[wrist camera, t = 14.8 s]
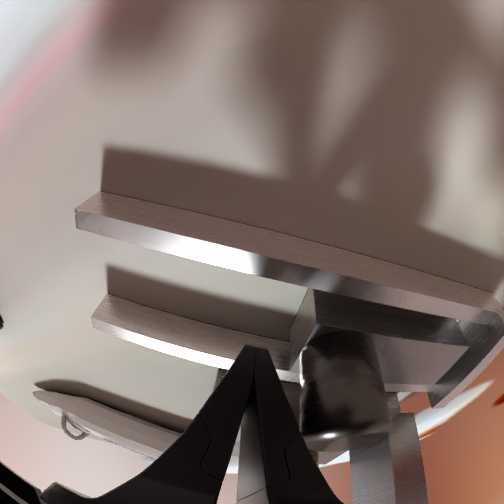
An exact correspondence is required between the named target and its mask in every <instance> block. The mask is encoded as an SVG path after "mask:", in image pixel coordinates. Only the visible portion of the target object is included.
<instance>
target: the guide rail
mask: <svg viewBox="0 0 504 504" xmlns="http://www.w3.org/2000/svg"><path fill="white" fill-rule="evenodd" d="M75 220H76V228H77V229H81V230H85V231H88V232H92V233H95V234H99V235H102V236H106V237H110V238H113V239H117V240H121V241H124V242H128V243H132V244H136V245H139V246H143V247H147V248H151V249H154V250H158V251H162V252H166V253H170V254H173V255H177V256H181V257H185V258H189V259H193V260H197V261H201V262H205V263H209V264H213V265H217V266H221V267H225V268H229V269H233V270H237V271H241V272H245V273H249V274H253V275H257V276H262V277H266V278H270V279H274V280H278V281H283V282H287V283H291V284H295V285H300V286H304V287H308V288H313V289H317V290H322V291H326V292H330V293H335V294H339V295H344V296H348V297H353V298H357V299H362V300H367V301H371V302H376V303H380V304H385V305H390V306H395V307H399V308H404V309H409V310H414V311H419V312H424V313H429V314H434V315H439V316H444V317H449V318H454V319H459V320H461V321H460V322H459V323H458V325H459V327H460V329H461V331H462V333H463V334H464V336H465V338H466V341H467V343H468V345H469V348H468V349H467V350H466V351H465V353H464V354H463V355H462V356H461V357H460V358H459V359H458V360H457V361H456V363H455V364H454V365H453V366H452V367H451V368H450V369H449V370H448V371H447V372H446V373H445V374H444V375H443V376H442V377H441V378H440V379H439V380H438V381H437V382H436V383H435V384H434V385H410V384H389V383H384V386H385V391H392V392H427V393H428V396H429V400H430V403H431V407H432V408H443V407H445V406H446V405H447V404H448V403H449V402H450V401H452V400H453V399H454V398H455V397H456V396H457V395H458V394H459V393H460V392H462V391H463V390H464V389H465V388H466V387H467V386H468V385H469V384H470V383H471V382H472V381H473V380H474V379H475V378H476V377H477V376H478V375H479V374H480V373H481V372H482V371H483V370H484V369H485V368H486V367H487V366H488V365H489V364H490V363H491V361H492V360H493V359H494V358H495V357H496V356H497V355H498V354H499V353H500V351H501V350H502V349H503V348H504V310H503V309H502V307H501V306H500V304H499V303H498V301H497V300H496V298H495V297H494V295H493V294H492V293H490V292H487V291H484V290H481V289H478V288H474V287H471V286H468V285H465V284H462V283H458V282H455V281H452V280H448V279H445V278H442V277H438V276H435V275H432V274H428V273H425V272H422V271H418V270H415V269H411V268H408V267H404V266H401V265H397V264H394V263H390V262H387V261H383V260H380V259H376V258H373V257H369V256H365V255H362V254H358V253H354V252H351V251H347V250H343V249H340V248H336V247H332V246H329V245H325V244H321V243H317V242H313V241H310V240H306V239H302V238H298V237H294V236H290V235H286V234H282V233H279V232H275V231H271V230H267V229H263V228H259V227H255V226H251V225H246V224H242V223H238V222H234V221H230V220H226V219H222V218H218V217H213V216H209V215H205V214H201V213H196V212H192V211H188V210H183V209H179V208H175V207H170V206H166V205H161V204H157V203H152V202H148V201H143V200H139V199H134V198H129V197H125V196H120V195H115V194H110V193H106V192H101V191H100V192H98V193H97V194H95V195H94V196H92V197H91V198H89V199H88V200H86V201H85V202H84V203H82V204H81V205H79V206H78V207H77V208H75ZM91 319H92V323H93V327H94V328H96V329H98V330H101V331H103V332H106V333H108V334H111V335H114V336H117V337H119V338H122V339H125V340H128V341H131V342H134V343H136V344H139V345H142V346H145V347H149V348H152V349H155V350H158V351H161V352H165V353H168V354H171V355H175V356H178V357H182V358H185V359H189V360H193V361H196V362H200V363H204V364H208V365H212V366H216V367H220V368H224V369H229V368H230V366H231V365H232V363H233V362H234V360H235V359H236V357H237V356H238V354H239V353H240V351H241V350H242V348H243V347H244V345H245V344H249V345H254V346H256V347H263V348H267V349H268V350H269V353H270V355H271V358H272V361H273V363H274V366H275V368H276V371H277V373H278V376H279V379H280V380H285V381H291V382H298V383H300V374H298V373H292V372H289V369H290V342H287V341H282V340H277V339H272V338H267V337H262V336H258V335H253V334H249V333H244V332H240V331H235V330H231V329H227V328H223V327H219V326H215V325H211V324H207V323H203V322H199V321H196V320H192V319H188V318H185V317H181V316H177V315H174V314H170V313H167V312H163V311H160V310H157V309H153V308H150V307H147V306H144V305H140V304H137V303H134V302H131V301H128V300H125V299H122V298H119V297H116V296H113V295H110V294H107V295H106V296H105V297H104V299H103V300H102V302H101V303H100V305H99V306H98V307H97V309H96V310H95V312H94V313H93V315H92V316H91Z"/></svg>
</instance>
